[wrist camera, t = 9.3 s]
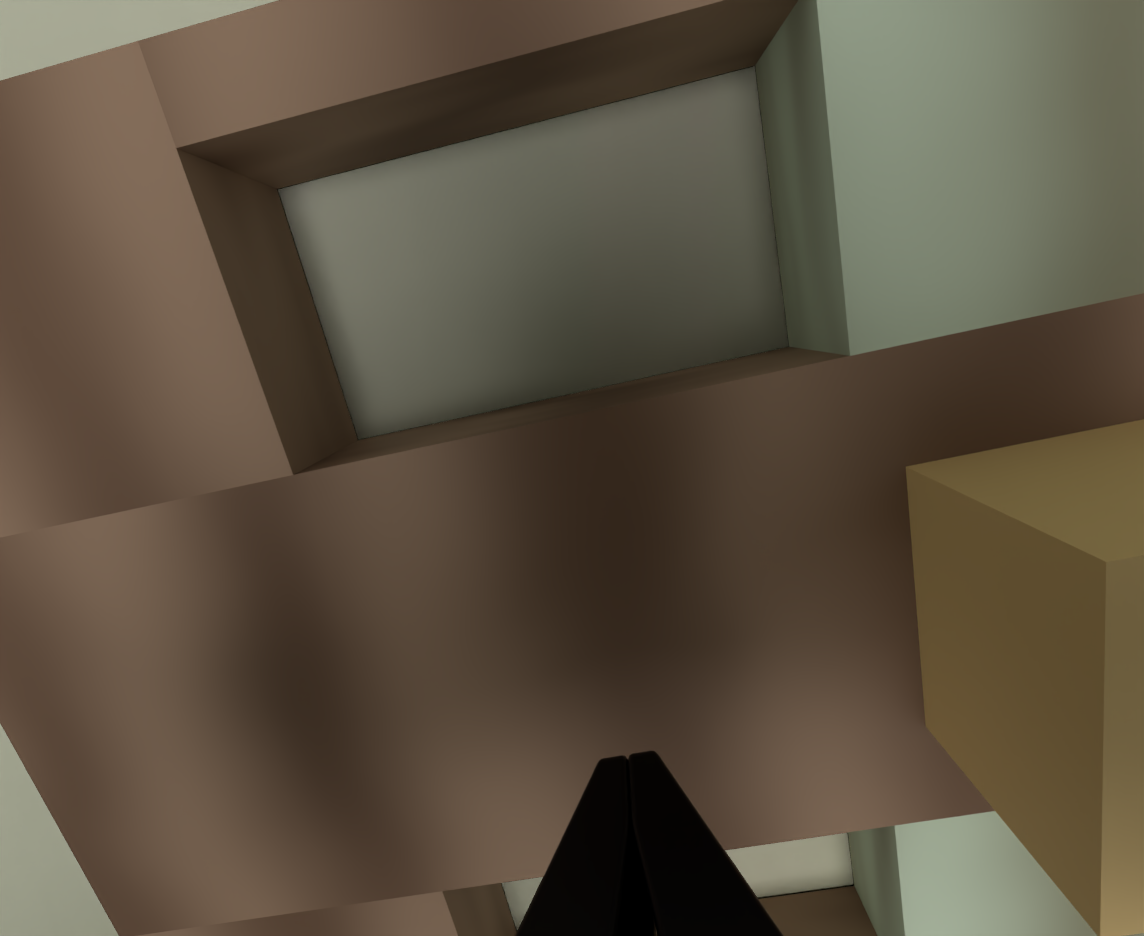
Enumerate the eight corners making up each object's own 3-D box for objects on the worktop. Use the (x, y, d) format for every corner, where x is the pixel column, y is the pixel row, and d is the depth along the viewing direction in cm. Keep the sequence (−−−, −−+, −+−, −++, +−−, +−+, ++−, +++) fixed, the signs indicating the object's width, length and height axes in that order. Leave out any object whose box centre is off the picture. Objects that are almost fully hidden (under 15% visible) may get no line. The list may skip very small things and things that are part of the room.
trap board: (285, 1000, 18) (228, 1130, 15) (-95, 205, 12) (-309, 169, 9) (1148, 886, 16) (1272, 1013, 13) (1197, -148, 10) (1445, -336, 7)
